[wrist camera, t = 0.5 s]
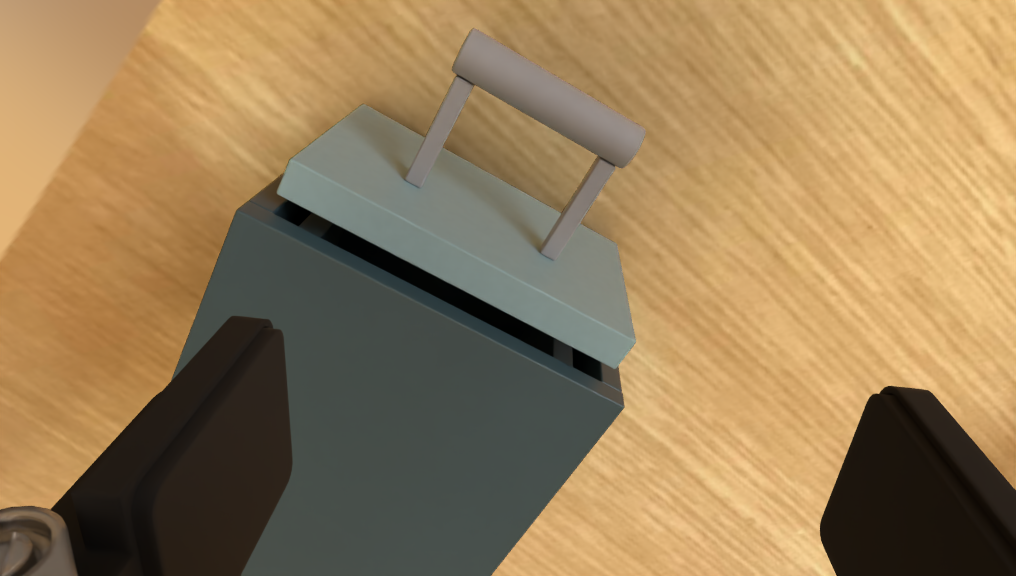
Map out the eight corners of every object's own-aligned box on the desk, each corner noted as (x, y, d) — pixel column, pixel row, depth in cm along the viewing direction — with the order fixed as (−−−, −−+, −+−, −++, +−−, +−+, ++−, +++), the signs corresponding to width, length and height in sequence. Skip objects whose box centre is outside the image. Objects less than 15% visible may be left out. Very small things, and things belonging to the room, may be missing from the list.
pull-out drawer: (420, -28, 24) (361, -19, 17) (692, 134, 25) (742, 203, 18) (248, 360, 31) (159, 477, 24) (466, 463, 33) (441, 599, 26)
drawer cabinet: (338, 128, 27) (235, 209, 19) (606, 273, 29) (625, 407, 21) (226, 386, 33) (110, 537, 25) (454, 492, 35) (420, 665, 27)
